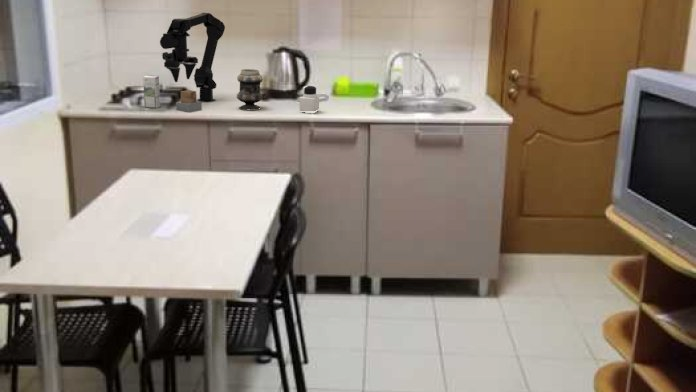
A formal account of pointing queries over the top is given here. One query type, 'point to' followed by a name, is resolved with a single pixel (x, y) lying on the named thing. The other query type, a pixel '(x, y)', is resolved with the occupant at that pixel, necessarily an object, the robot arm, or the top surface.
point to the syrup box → (151, 91)
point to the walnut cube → (188, 96)
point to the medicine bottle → (309, 99)
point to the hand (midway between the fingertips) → (182, 80)
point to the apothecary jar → (249, 88)
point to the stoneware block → (189, 106)
